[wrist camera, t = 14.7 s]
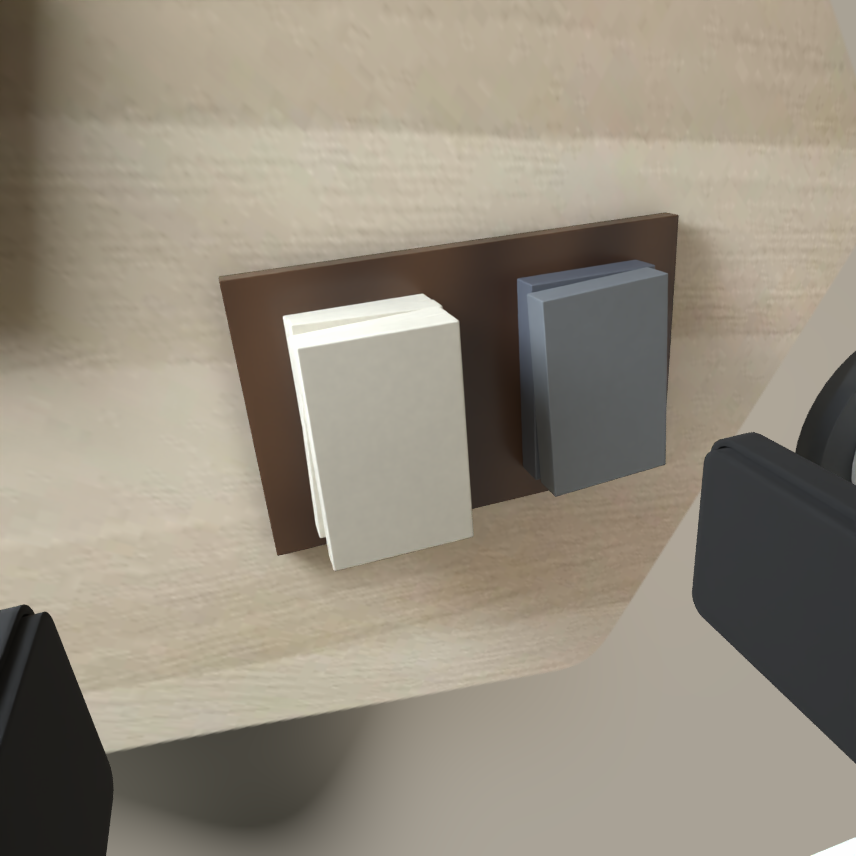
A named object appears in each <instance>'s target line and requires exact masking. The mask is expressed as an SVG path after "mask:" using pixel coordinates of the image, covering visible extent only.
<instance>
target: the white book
mask: <svg viewBox="0 0 856 856" xmlns="http://www.w3.org/2000/svg"><path fill="white" fill-rule="evenodd" d="M292 344H293V350H294V355H295V361H296V367H297V373H298V378H299V384H300V390H301V396H302V402H303V407H304V413H305V419H306V425H307V431H308V436H309V442H310V448H311V454H312V459H313V465H314V471H315V477H316V483H317V488H318V494H319V500H320V506H321V511H322V517H323V523H324V529H325V535H326V540H327V546H328V552H329V557H330V560H331V563H332V566H333V569H334V571H339V570H343V569H347V568H351V567H355V566H359V565H363V564H367V563H371V562H375V561H379V560H383V559H387V558H391V557H395V556H399V555H403V554H407V553H411V552H415V551H419V550H423V549H427V548H431V547H435V546H439V545H443V544H447V543H451V542H455V541H459V540H463V539H467V538H471V537H473V536H474V533H473V518H472V503H471V489H470V474H469V459H468V444H467V429H466V414H465V399H464V385H463V370H462V355H461V340H460V325H459V320H457V319H456V318H455V317H453V316H452V315H450V314H448V313H447V314H441V315H435V316H429V317H423V318H417V319H411V320H405V321H399V322H393V323H387V324H381V325H375V326H369V327H363V328H357V329H351V330H345V331H339V332H333V333H327V334H321V335H315V336H309V337H303V338H297V339H293V340H292Z"/></svg>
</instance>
